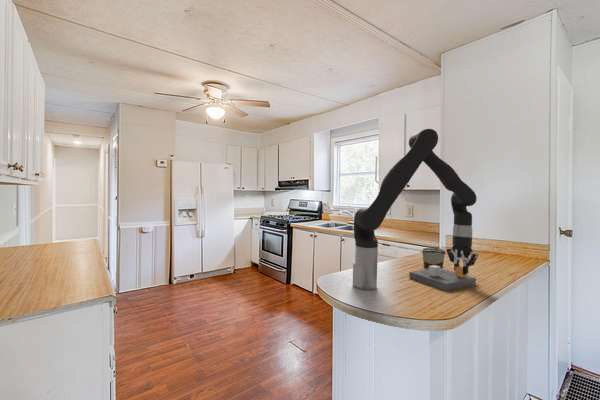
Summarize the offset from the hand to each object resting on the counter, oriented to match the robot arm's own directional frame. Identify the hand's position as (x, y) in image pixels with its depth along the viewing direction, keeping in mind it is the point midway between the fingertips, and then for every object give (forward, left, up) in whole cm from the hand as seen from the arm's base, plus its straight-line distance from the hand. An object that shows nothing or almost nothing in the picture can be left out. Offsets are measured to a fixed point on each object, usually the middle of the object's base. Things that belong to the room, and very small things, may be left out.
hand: (461, 273), depth 124 cm
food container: (+13, +25, -5) cm, 29 cm away
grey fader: (-10, +6, -1) cm, 12 cm away
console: (-5, +6, -5) cm, 9 cm away
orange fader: (0, 0, -1) cm, 1 cm away
